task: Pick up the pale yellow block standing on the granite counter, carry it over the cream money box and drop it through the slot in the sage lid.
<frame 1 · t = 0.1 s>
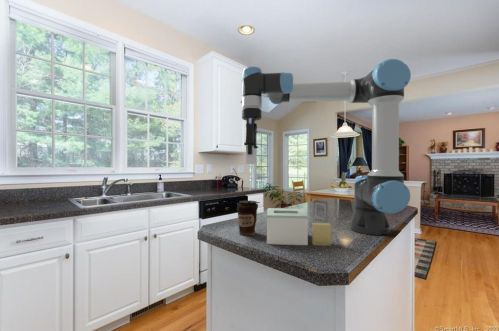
hand: (251, 164, 93), 28 cm above the countertop, fingers open, 13 cm apart
pale yellow block: (321, 244, 84), on the countertop
coffee cup: (247, 234, 96), on the countertop
coin box: (285, 238, 90), on the countertop
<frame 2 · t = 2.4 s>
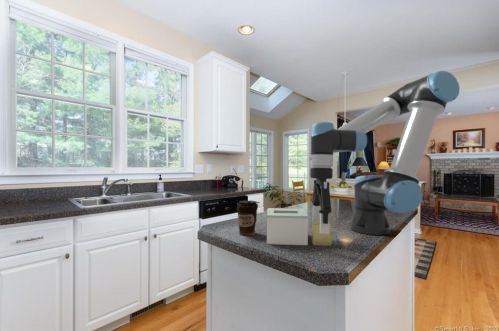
hand: (320, 228, 84), 6 cm above the countertop, fingers open, 13 cm apart
nothing on the countertop moved.
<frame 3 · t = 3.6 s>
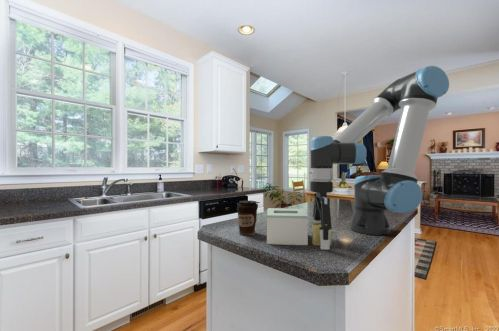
hand: (321, 243, 84), 0 cm above the countertop, fingers open, 11 cm apart
nothing on the countertop moved.
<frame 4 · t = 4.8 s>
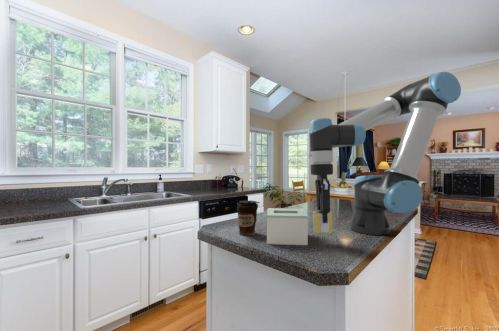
hand: (323, 230, 84), 5 cm above the countertop, fingers closed on pale yellow block, 3 cm apart
pale yellow block: (322, 231, 84), point 4 cm above the countertop, touching gripper
everything else where it was.
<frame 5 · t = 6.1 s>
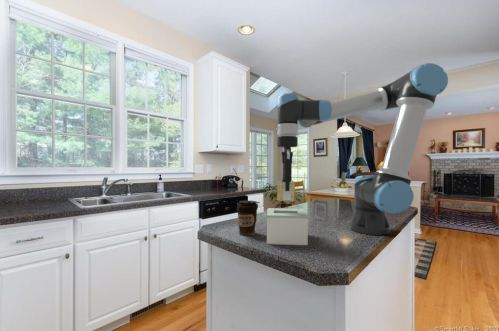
hand: (286, 199, 90), 15 cm above the countertop, fingers closed on pale yellow block, 3 cm apart
pale yellow block: (285, 200, 90), point 14 cm above the countertop, touching gripper
everything else where it was.
when the fingers open (11 cm above the countertop, at t = 7.2 s): pale yellow block drops 10 cm, resting on coin box.
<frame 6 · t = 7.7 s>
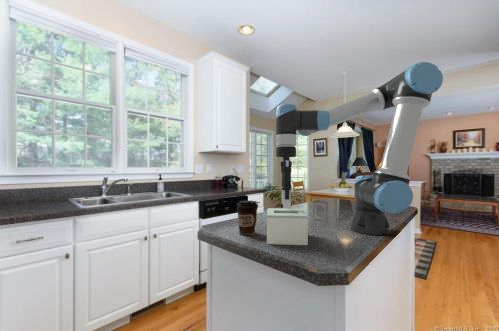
hand: (285, 206, 90), 12 cm above the countertop, fingers open, 10 cm apart
pale yellow block: (284, 236, 90), point 1 cm above the countertop, touching coin box
everything else where it was.
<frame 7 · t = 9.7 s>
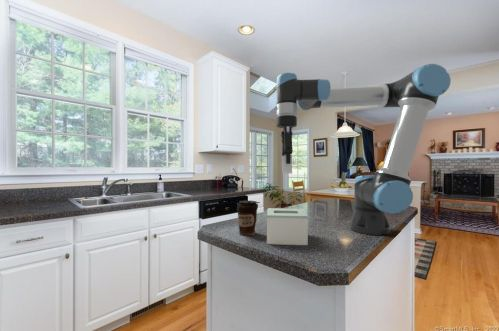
hand: (286, 173, 90), 25 cm above the countertop, fingers open, 13 cm apart
nothing on the countertop moved.
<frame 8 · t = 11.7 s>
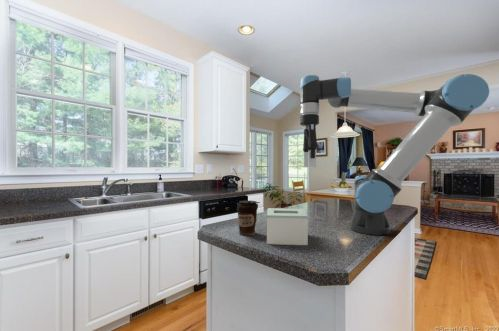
hand: (309, 167, 98), 27 cm above the countertop, fingers open, 13 cm apart
nothing on the countertop moved.
at the end: pale yellow block inside the target area on the coin box (0.3 cm from its centre), point 0.8 cm above the coin box's base; the gripper is holding nothing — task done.
